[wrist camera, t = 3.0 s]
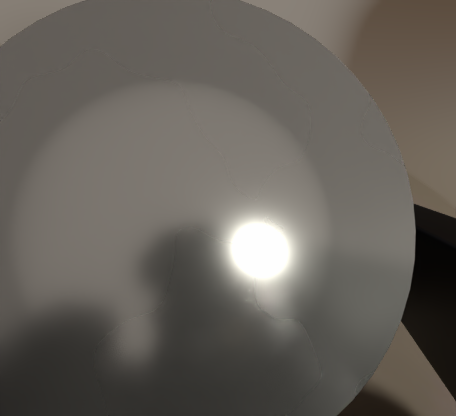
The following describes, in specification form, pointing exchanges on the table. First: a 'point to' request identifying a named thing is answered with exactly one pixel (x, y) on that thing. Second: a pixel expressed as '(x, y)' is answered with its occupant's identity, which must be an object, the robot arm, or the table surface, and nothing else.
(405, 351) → the table surface
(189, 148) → the canister
